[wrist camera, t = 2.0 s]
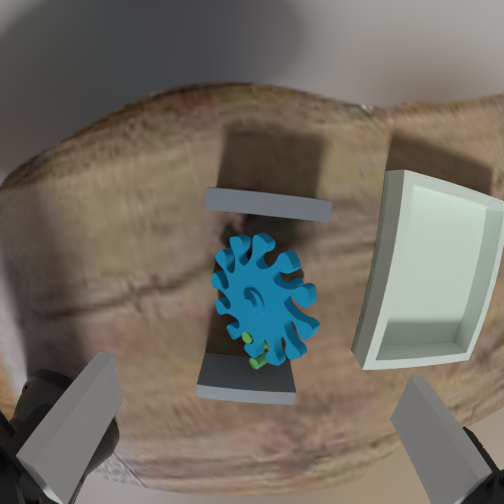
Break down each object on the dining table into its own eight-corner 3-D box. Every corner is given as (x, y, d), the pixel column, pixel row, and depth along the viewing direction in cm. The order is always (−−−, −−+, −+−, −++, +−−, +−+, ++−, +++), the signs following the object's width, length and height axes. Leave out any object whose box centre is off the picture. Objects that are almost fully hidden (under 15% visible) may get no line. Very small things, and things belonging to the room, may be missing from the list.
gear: (206, 220, 21) (320, 263, 15) (261, 211, 25) (364, 243, 19) (205, 339, 25) (290, 401, 19) (252, 317, 29) (333, 364, 23)
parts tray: (351, 350, 26) (362, 370, 22) (385, 171, 22) (404, 169, 19) (452, 345, 26) (468, 359, 23) (487, 200, 22) (509, 203, 19)
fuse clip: (204, 364, 26) (196, 396, 21) (215, 187, 22) (206, 187, 18) (287, 371, 26) (293, 404, 21) (315, 198, 23) (332, 201, 18)
